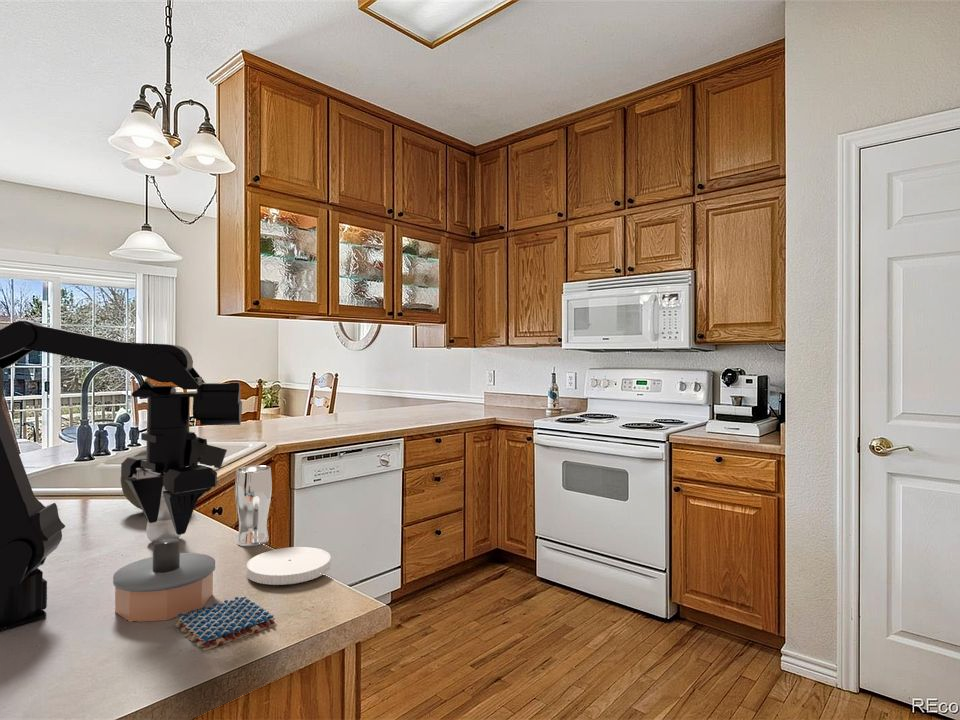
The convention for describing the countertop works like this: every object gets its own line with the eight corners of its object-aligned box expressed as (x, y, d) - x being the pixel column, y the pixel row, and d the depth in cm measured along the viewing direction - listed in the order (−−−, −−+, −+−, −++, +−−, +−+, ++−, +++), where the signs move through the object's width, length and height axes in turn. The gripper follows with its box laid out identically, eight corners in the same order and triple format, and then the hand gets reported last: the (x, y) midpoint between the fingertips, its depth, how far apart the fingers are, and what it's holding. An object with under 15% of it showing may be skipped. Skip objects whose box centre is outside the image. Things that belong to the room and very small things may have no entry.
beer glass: (259, 534, 120) (260, 463, 120) (277, 541, 115) (278, 468, 115) (227, 542, 114) (228, 468, 114) (245, 550, 110) (246, 473, 110)
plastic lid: (231, 575, 98) (231, 561, 98) (302, 554, 108) (302, 541, 108) (273, 598, 89) (273, 582, 89) (346, 573, 99) (346, 559, 99)
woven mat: (202, 657, 72) (202, 641, 72) (172, 629, 79) (172, 614, 79) (279, 629, 79) (279, 615, 79) (246, 605, 86) (246, 592, 86)
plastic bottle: (188, 540, 115) (189, 443, 115) (151, 548, 110) (153, 446, 110) (177, 533, 119) (178, 439, 119) (141, 541, 114) (142, 442, 114)
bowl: (140, 629, 77) (140, 596, 77) (105, 605, 85) (106, 575, 85) (224, 600, 87) (224, 571, 87) (186, 580, 94) (187, 554, 94)
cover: (136, 600, 76) (137, 565, 76) (97, 575, 85) (98, 544, 85) (232, 571, 87) (232, 540, 87) (189, 551, 95) (190, 523, 95)
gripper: (251, 427, 87) (249, 527, 87) (191, 417, 98) (189, 507, 98) (177, 433, 78) (174, 546, 78) (120, 422, 89) (118, 521, 89)
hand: (166, 528), depth 86 cm, fingers open, 9 cm apart
